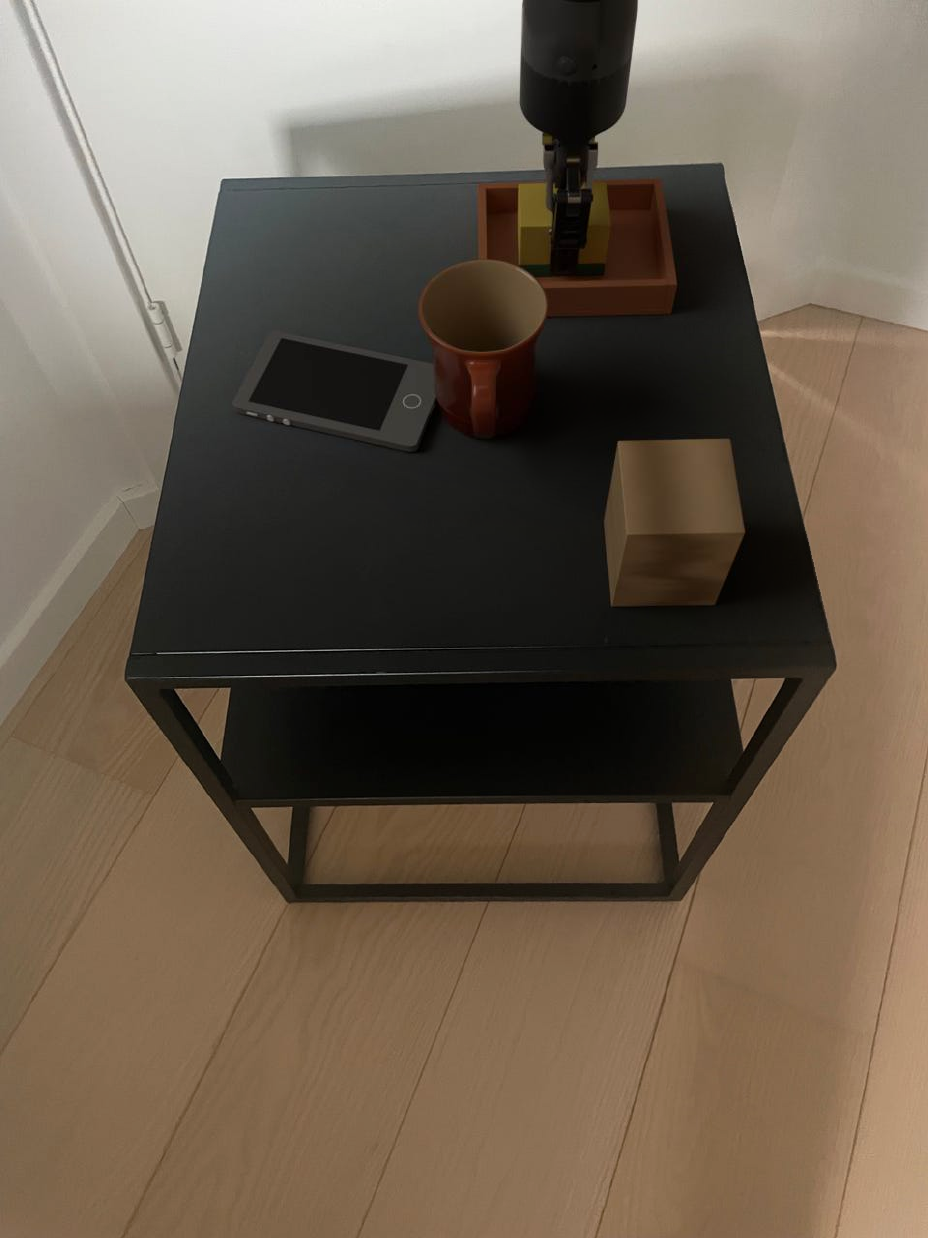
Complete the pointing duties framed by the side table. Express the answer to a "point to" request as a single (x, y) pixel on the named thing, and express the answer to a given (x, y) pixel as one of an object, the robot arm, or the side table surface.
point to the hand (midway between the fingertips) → (561, 246)
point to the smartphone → (339, 391)
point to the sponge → (537, 239)
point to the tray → (633, 255)
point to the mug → (484, 343)
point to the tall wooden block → (671, 522)
